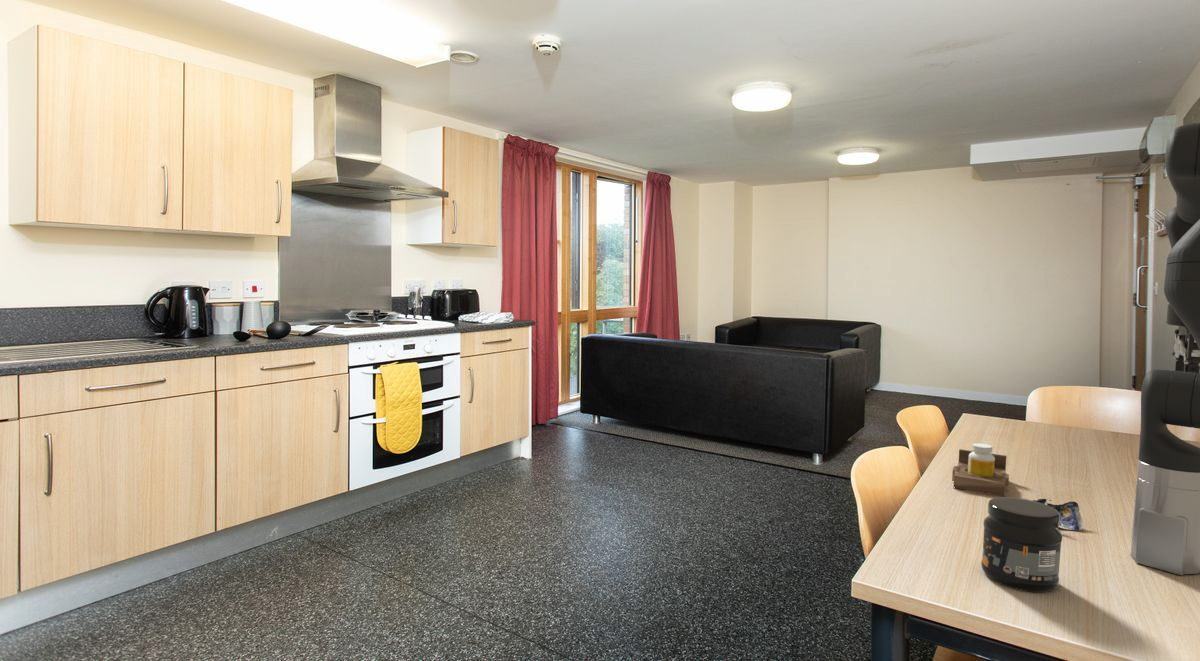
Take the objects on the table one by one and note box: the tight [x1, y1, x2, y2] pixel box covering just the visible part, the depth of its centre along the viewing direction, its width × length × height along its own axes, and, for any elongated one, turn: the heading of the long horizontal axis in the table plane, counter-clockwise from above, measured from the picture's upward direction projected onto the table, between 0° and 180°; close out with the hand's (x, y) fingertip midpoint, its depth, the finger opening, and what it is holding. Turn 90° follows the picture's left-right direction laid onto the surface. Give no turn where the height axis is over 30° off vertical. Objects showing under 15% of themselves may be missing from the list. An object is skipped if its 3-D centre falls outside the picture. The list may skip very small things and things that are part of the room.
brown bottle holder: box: [951, 448, 1010, 497], centre depth 151 cm, size 15×11×6 cm
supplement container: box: [980, 496, 1063, 593], centre depth 101 cm, size 10×10×12 cm
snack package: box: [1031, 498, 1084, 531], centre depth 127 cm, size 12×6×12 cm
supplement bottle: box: [968, 442, 995, 476], centre depth 150 cm, size 5×5×10 cm
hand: (1185, 380), depth 131 cm, fingers open, 8 cm apart
